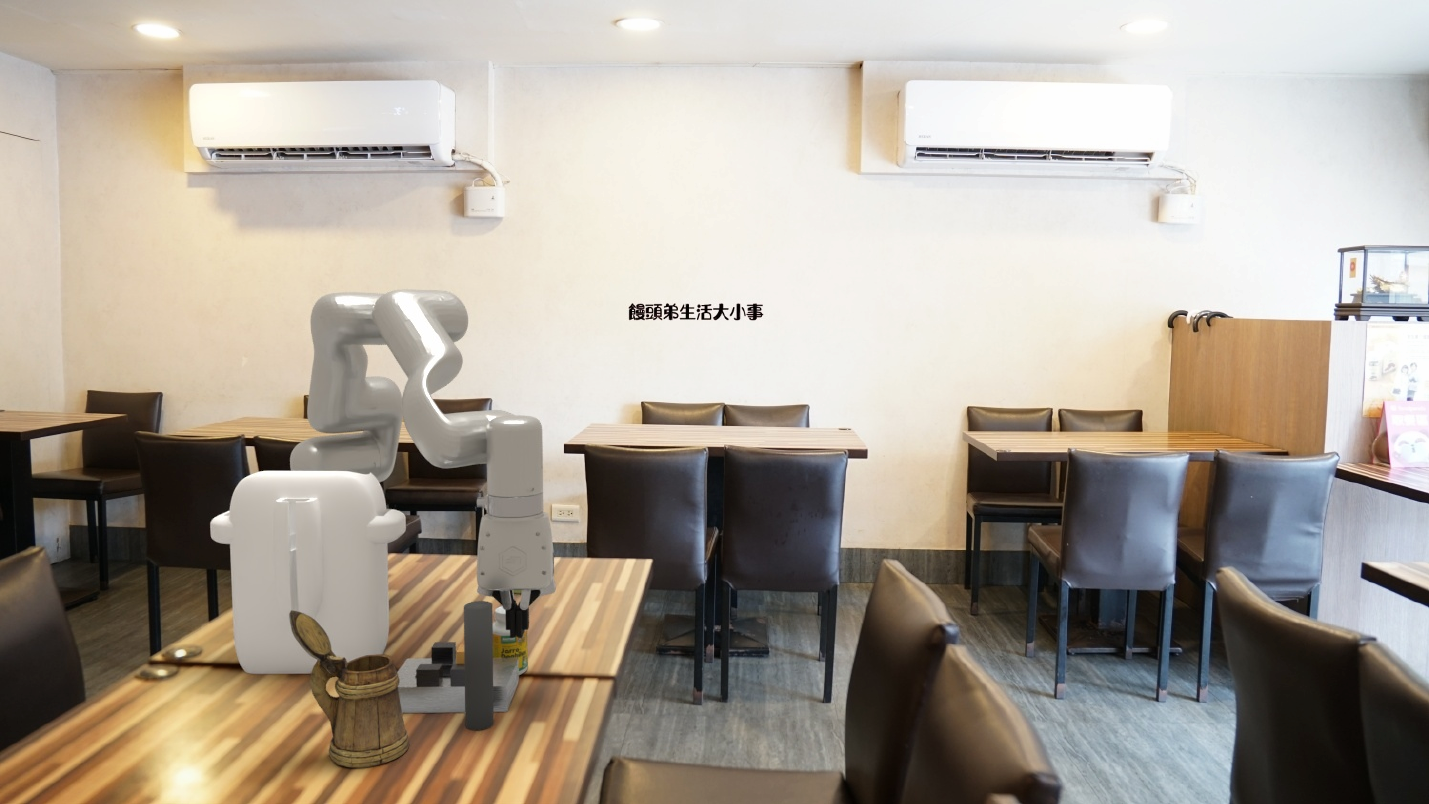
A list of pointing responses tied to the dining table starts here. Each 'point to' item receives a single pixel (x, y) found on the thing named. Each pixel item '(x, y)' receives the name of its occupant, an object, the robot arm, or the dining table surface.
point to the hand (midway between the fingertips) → (517, 634)
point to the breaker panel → (450, 682)
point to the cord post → (478, 665)
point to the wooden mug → (355, 699)
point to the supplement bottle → (508, 642)
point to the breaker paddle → (460, 655)
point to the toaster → (308, 564)
